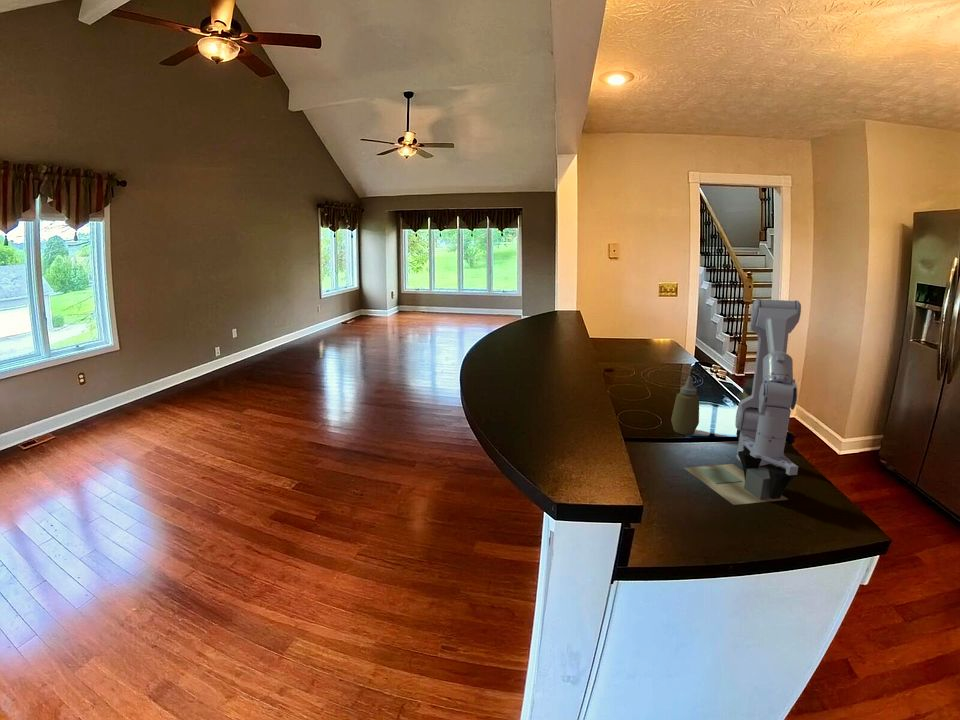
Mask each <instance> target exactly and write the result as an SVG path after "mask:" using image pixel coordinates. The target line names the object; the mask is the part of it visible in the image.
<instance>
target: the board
mask: <svg viewBox="0 0 960 720" xmlns="http://www.w3.org/2000/svg"><path fill="white" fill-rule="evenodd" d="M684 469H685V470H686V471H688V472H689V473H690V474H691V475H693V476H694V477H695V478H697V479H698V480H699V481H701V483H704V484H705V485H706V486H708V487H709V488H710V489H712V490H713V491H714V492H716V493H717V494H718V495H720V497H722V498H724V500H726V501H727V502H729V503H730V504H732V506H735V505H736V506H737V505H747V504H748V505H749V504H755V503H756V504H758V503H766V502H768V503H769V502H776V501H778V502H779V501H786V500H787V501H788V500H789V498H787V497H786V496H784V495H783V494H782V495H781V497H780V498H779V499H771V498H770V499H759V498H757V497H756V496H754V495H753V494H751V493H750V492H748V491H747V490H745V489H744V485H745V477H744V470H743V469H741V468H740V467H738V466H737V465H735V464H733V463H728V464H713V465H703V466H691V467H688V466H687V467H684Z"/></svg>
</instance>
